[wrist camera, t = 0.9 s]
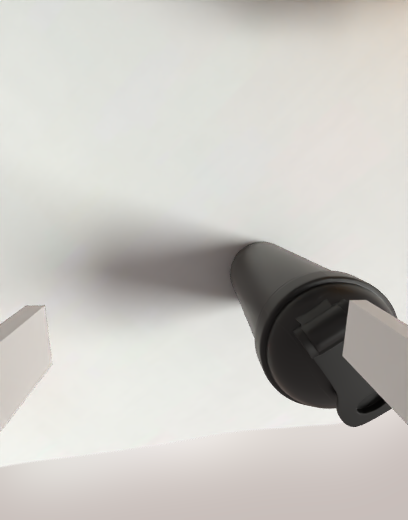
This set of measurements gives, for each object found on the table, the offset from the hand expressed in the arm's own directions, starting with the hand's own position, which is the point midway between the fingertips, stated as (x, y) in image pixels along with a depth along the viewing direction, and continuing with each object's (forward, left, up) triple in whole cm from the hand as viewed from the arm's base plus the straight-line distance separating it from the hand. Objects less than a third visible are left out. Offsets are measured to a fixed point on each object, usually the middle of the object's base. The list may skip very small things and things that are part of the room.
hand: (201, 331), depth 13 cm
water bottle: (+6, +9, -27) cm, 29 cm away
